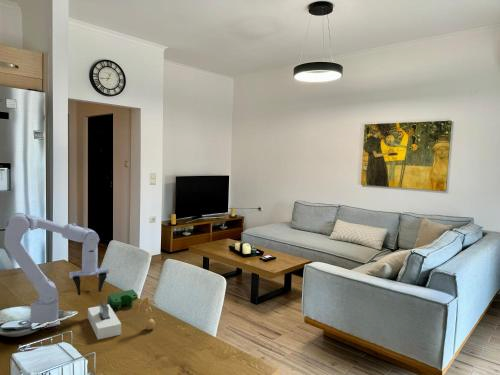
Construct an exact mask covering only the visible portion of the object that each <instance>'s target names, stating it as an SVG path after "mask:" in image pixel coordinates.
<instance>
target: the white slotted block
mask: <svg viewBox="0 0 500 375" xmlns="http://www.w3.org/2000/svg"><path fill="white" fill-rule="evenodd" d="M107 306H108V308H109V314H108V319H106V320H101V318H100V305H99V306H92V307H88V308H87V319H88V321H89V324H90V325H91V327H92V328H91V329H92V330H93V332H94V333H95V336H96V339H97V340H98V341H99V340H102V339H107V338H112V337H115V336H116V337H117V336H120V335H122V323H121V321H120V319H119V318H118V316H117V314H116V313H115V311H114V310H113V308H111V307H110V305H109V304H108V305H107Z"/></svg>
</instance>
